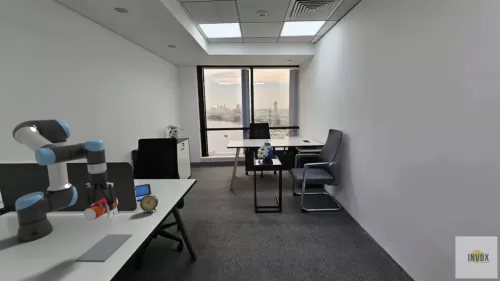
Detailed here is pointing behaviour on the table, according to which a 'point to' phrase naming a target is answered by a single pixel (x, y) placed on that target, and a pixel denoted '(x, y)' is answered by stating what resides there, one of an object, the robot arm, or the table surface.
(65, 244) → the table surface
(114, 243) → the mat
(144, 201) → the alarm clock
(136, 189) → the handheld game console
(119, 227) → the table surface
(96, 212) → the coffee cup
